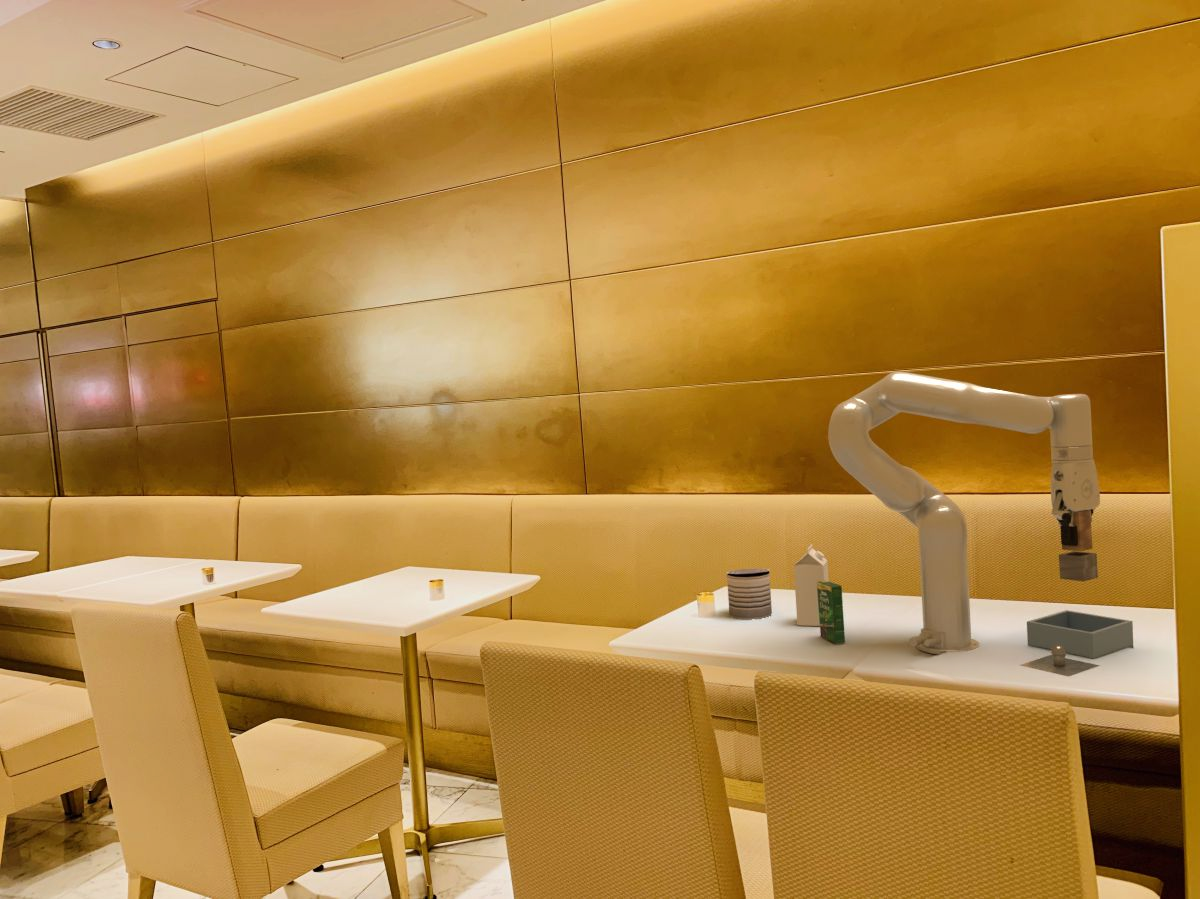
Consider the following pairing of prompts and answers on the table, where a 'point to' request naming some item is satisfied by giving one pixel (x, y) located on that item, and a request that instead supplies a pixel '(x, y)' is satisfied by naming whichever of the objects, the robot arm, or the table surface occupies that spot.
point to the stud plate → (1060, 670)
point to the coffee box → (831, 611)
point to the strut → (1079, 563)
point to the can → (749, 594)
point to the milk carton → (809, 586)
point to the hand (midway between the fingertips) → (1076, 542)
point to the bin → (1080, 633)
